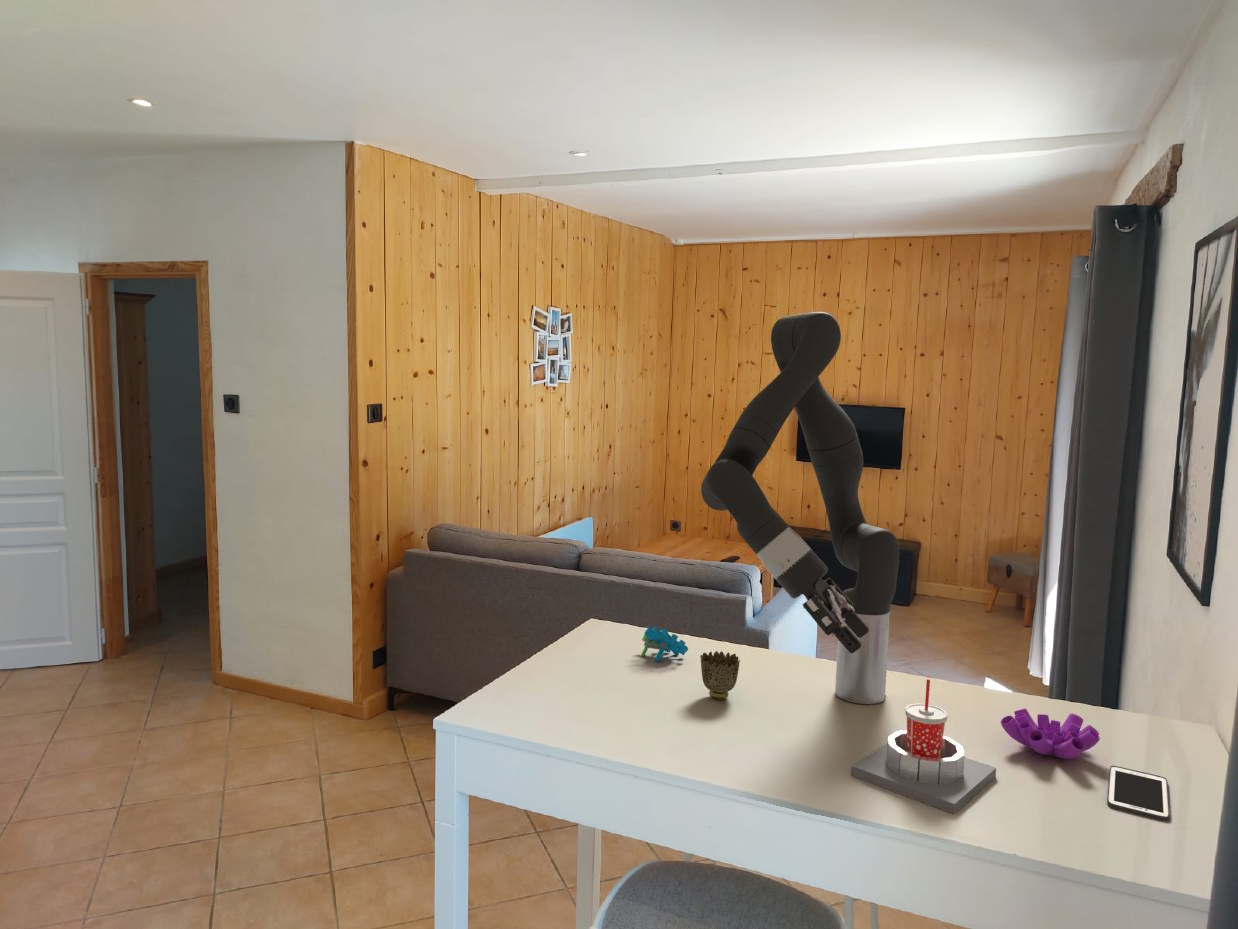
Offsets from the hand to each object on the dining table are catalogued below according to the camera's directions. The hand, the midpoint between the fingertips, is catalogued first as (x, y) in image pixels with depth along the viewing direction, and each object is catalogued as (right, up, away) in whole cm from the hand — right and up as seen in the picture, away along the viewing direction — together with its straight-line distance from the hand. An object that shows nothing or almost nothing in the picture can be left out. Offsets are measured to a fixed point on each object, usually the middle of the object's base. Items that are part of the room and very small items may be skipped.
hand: (861, 641), depth 133 cm
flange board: (+9, -20, -2) cm, 22 cm away
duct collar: (+9, -19, -2) cm, 21 cm away
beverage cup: (+9, -19, -2) cm, 21 cm away
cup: (-19, -17, +28) cm, 37 cm away
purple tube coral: (+33, -20, +7) cm, 39 cm away
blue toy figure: (-29, -14, +50) cm, 59 cm away
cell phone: (+40, -22, -6) cm, 46 cm away
